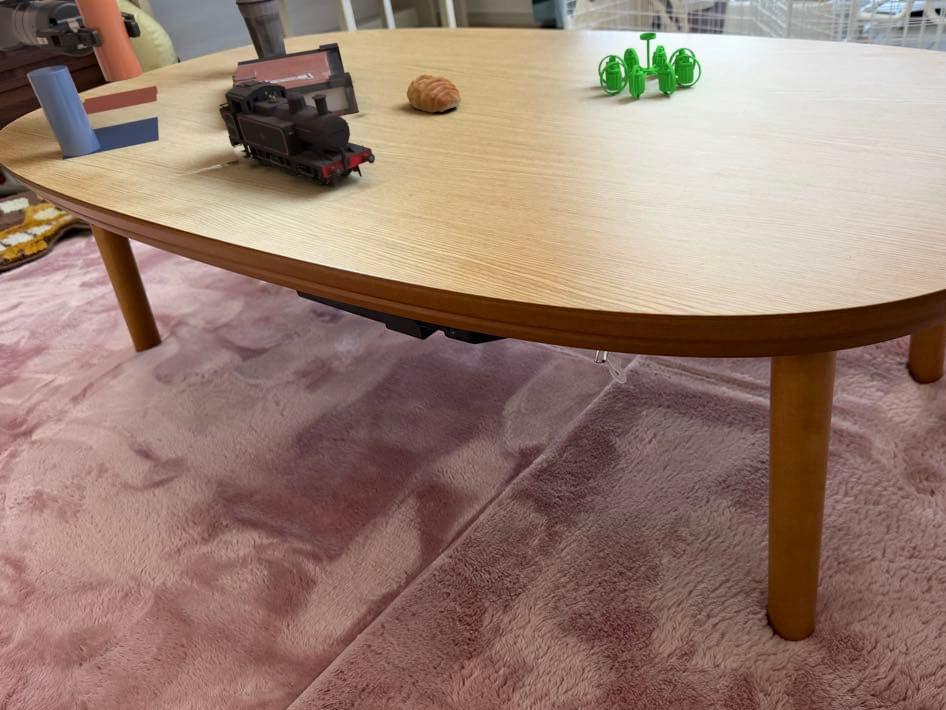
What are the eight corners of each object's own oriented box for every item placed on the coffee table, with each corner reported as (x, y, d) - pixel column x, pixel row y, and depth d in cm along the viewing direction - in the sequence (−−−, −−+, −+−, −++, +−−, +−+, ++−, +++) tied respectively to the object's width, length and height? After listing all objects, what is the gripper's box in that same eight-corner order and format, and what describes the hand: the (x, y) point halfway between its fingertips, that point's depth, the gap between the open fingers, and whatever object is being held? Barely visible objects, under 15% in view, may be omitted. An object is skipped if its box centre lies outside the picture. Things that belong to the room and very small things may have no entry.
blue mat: (64, 164, 113) (62, 159, 112) (70, 137, 123) (69, 134, 123) (160, 144, 116) (158, 139, 116) (159, 120, 127) (157, 116, 126)
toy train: (333, 199, 91) (309, 109, 85) (229, 161, 106) (203, 82, 100) (387, 177, 95) (368, 90, 89) (280, 143, 110) (258, 67, 104)
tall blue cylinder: (62, 159, 112) (24, 77, 106) (64, 150, 116) (28, 70, 110) (99, 152, 114) (65, 70, 107) (101, 142, 117) (68, 63, 111)
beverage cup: (249, 71, 149) (212, -52, 137) (284, 61, 152) (252, -59, 141) (266, 76, 144) (230, -51, 132) (302, 66, 148) (270, -58, 136)
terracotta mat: (82, 119, 132) (80, 115, 132) (86, 102, 141) (84, 99, 141) (158, 104, 135) (156, 100, 135) (157, 89, 144) (156, 85, 144)
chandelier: (669, 66, 123) (669, 17, 119) (722, 87, 111) (724, 33, 107) (579, 85, 119) (576, 35, 115) (625, 109, 108) (623, 54, 104)
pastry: (474, 106, 116) (469, 79, 113) (432, 118, 113) (427, 91, 111) (443, 95, 122) (438, 69, 120) (403, 106, 120) (398, 79, 117)
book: (242, 90, 137) (232, 59, 134) (344, 73, 140) (337, 42, 137) (239, 133, 116) (227, 98, 113) (358, 111, 119) (351, 76, 116)
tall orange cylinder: (104, 83, 116) (71, -1, 109) (106, 76, 120) (74, -5, 113) (142, 77, 117) (112, -7, 111) (142, 70, 121) (113, -11, 115)
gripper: (1, 10, 116) (55, 15, 107) (95, -9, 125) (153, -6, 116) (25, 65, 120) (79, 74, 111) (114, 43, 129) (171, 50, 120)
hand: (116, 33), depth 114 cm, fingers closed on tall orange cylinder, 5 cm apart
